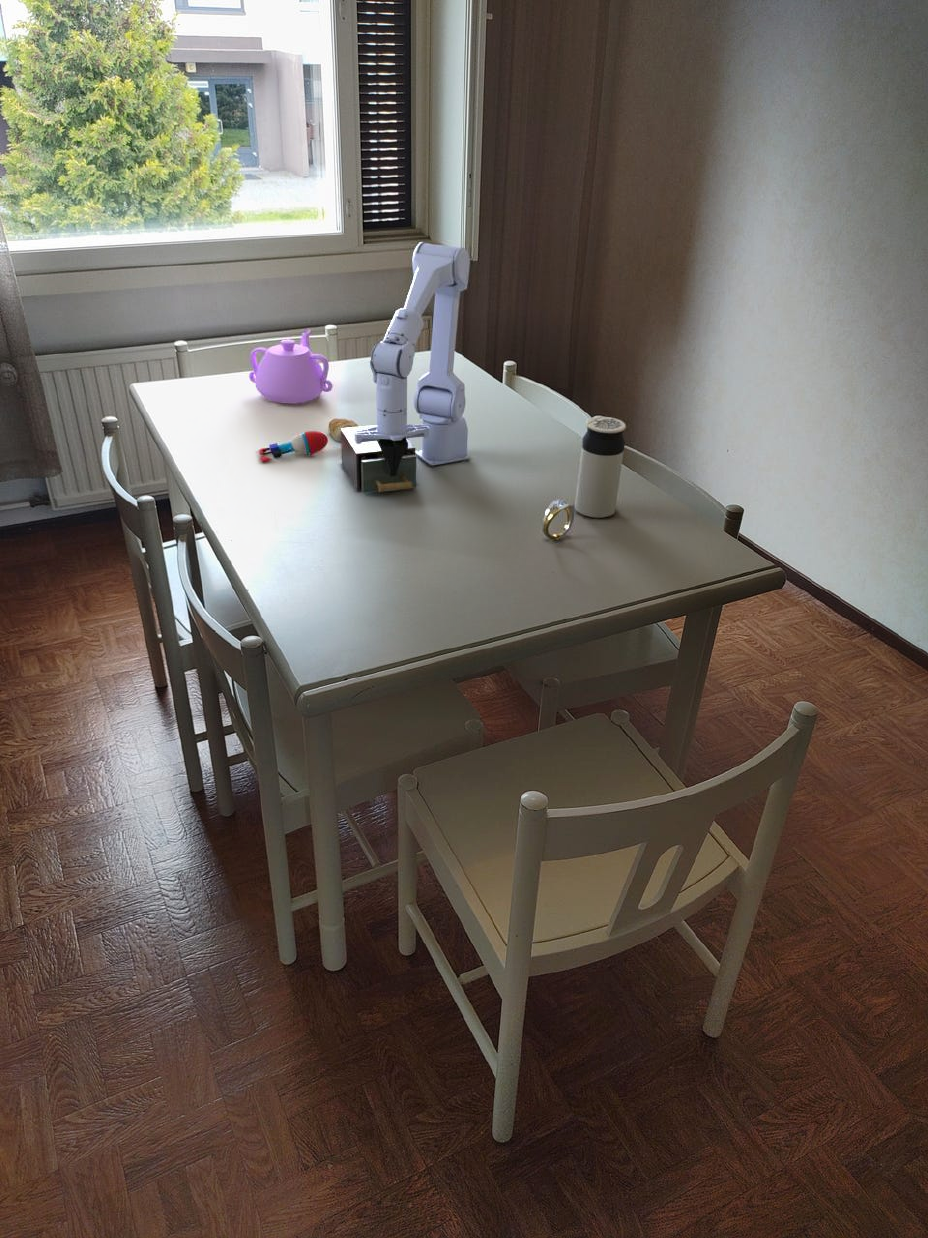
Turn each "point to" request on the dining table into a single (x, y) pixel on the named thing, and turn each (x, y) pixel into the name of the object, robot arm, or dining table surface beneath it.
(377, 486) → the drawer
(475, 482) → the dining table surface
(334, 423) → the pastry
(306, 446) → the toy figure
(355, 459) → the cabinet
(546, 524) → the ring
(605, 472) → the travel mug
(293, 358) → the teapot
